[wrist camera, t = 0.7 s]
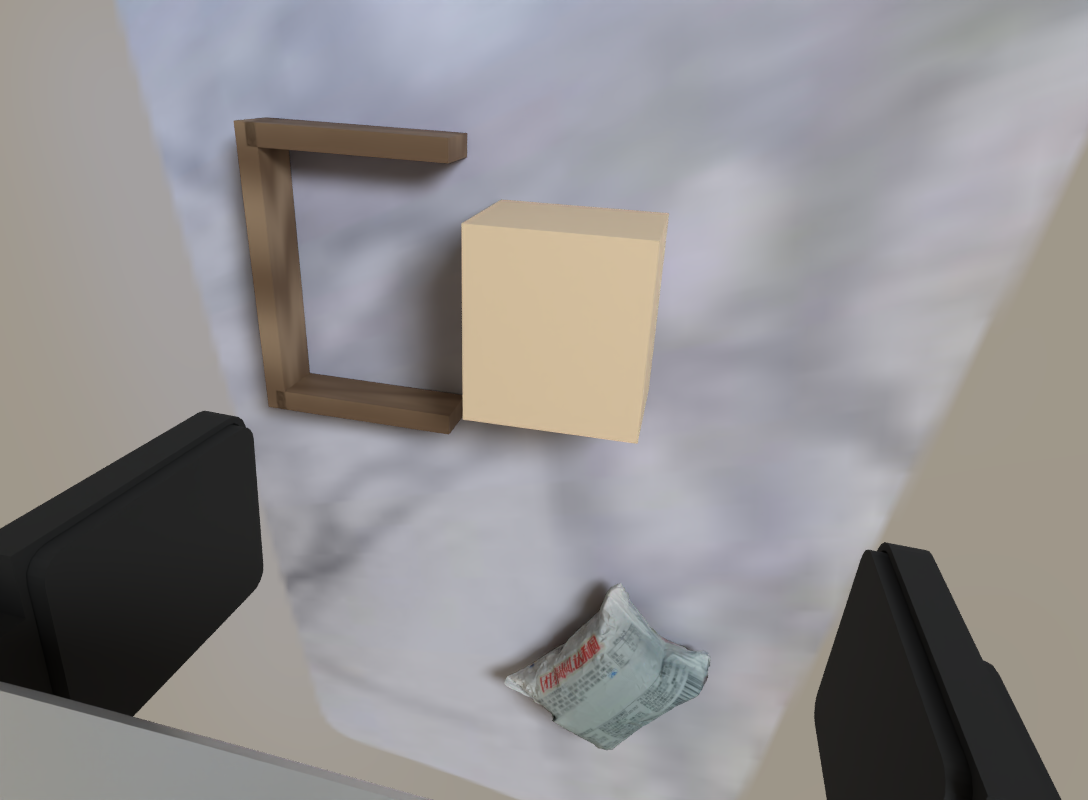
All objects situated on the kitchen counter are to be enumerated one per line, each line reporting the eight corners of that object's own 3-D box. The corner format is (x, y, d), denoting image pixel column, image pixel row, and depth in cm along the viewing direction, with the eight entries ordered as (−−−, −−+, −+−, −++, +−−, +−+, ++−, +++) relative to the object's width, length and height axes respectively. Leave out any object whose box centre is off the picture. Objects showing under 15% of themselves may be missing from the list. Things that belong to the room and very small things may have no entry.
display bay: (266, 117, 39) (233, 120, 37) (467, 133, 38) (448, 137, 35) (294, 387, 46) (268, 406, 44) (465, 412, 44) (449, 434, 42)
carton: (501, 199, 39) (461, 223, 33) (669, 212, 37) (660, 241, 31) (499, 369, 43) (462, 419, 37) (648, 387, 41) (637, 443, 35)
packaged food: (513, 654, 52) (496, 707, 48) (621, 564, 47) (612, 616, 43) (603, 722, 53) (594, 781, 49) (718, 643, 48) (719, 700, 44)
